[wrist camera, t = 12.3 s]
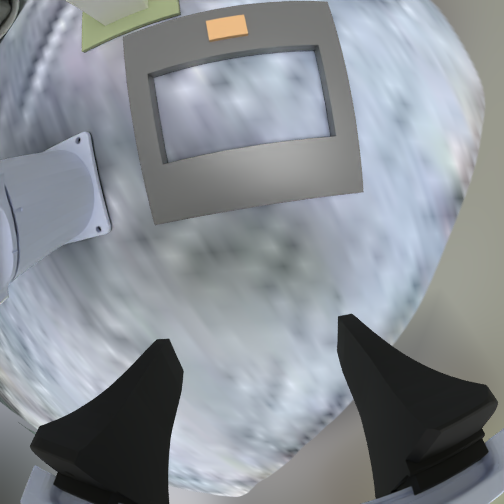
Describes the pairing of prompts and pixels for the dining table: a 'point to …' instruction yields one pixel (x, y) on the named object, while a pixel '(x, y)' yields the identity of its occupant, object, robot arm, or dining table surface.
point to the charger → (109, 8)
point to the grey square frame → (253, 157)
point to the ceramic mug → (7, 14)
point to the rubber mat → (125, 23)
